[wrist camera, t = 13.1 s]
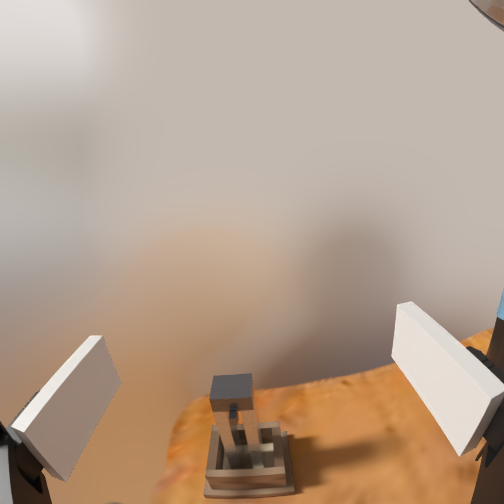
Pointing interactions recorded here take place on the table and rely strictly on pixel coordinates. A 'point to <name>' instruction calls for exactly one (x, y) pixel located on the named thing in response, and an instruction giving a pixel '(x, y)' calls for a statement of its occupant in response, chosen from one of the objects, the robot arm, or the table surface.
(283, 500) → the table surface
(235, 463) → the steel tongs
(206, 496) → the box
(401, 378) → the table surface
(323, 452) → the table surface
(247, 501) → the table surface
